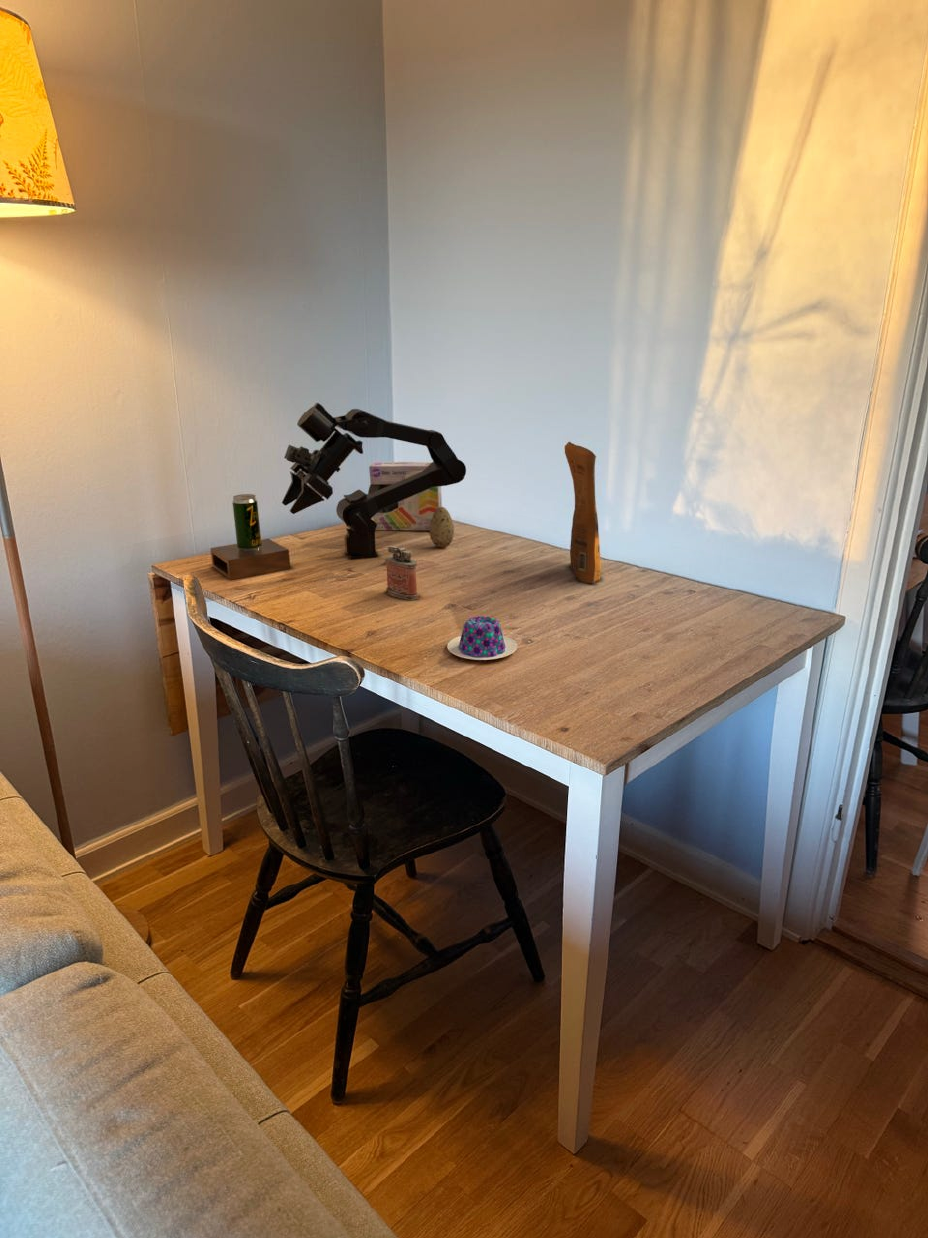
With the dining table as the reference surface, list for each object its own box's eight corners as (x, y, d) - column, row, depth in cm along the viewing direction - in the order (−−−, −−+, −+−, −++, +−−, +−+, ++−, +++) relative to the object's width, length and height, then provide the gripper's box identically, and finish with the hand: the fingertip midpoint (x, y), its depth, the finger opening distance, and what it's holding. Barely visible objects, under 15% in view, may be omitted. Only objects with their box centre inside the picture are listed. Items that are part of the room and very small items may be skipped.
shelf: (270, 556, 196) (268, 538, 195) (290, 568, 187) (288, 549, 185) (212, 567, 189) (210, 548, 187) (230, 580, 180) (228, 560, 178)
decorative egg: (425, 547, 202) (424, 507, 199) (439, 542, 207) (438, 503, 203) (444, 551, 199) (444, 510, 195) (459, 545, 204) (458, 506, 200)
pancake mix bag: (574, 587, 173) (579, 452, 163) (559, 561, 191) (563, 438, 181) (606, 586, 173) (613, 451, 163) (588, 560, 191) (594, 437, 181)
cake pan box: (369, 530, 219) (365, 463, 213) (374, 525, 223) (370, 460, 217) (440, 532, 216) (438, 465, 210) (443, 528, 220) (442, 461, 214)
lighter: (421, 597, 168) (420, 549, 164) (409, 601, 165) (408, 553, 162) (395, 588, 173) (393, 542, 169) (382, 592, 171) (380, 545, 167)
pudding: (464, 668, 134) (463, 639, 132) (436, 643, 144) (436, 615, 143) (529, 656, 139) (530, 627, 137) (498, 632, 149) (498, 605, 147)
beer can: (233, 551, 185) (227, 498, 180) (244, 544, 190) (239, 493, 185) (255, 552, 183) (249, 499, 179) (266, 546, 188) (261, 494, 184)
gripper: (296, 426, 191) (252, 478, 191) (313, 437, 175) (266, 493, 175) (331, 458, 196) (289, 508, 196) (352, 471, 180) (306, 526, 180)
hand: (287, 508), depth 187 cm, fingers open, 9 cm apart
